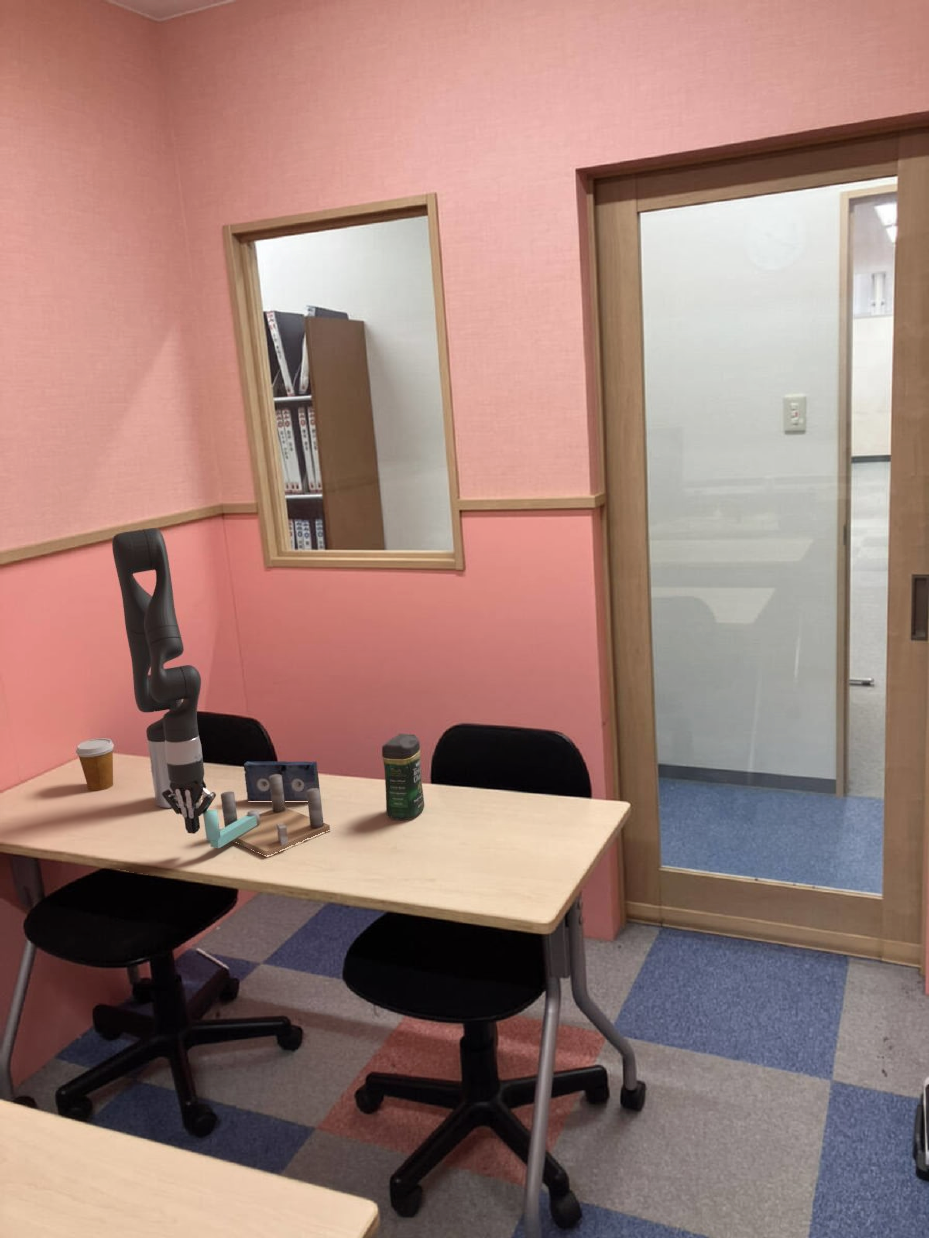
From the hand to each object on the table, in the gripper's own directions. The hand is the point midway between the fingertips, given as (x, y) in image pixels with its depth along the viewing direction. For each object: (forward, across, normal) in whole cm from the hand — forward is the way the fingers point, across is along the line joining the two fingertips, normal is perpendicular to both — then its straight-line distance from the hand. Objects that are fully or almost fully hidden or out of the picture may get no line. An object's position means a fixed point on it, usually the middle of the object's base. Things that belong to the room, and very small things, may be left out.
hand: (193, 831), depth 220 cm
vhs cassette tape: (+5, +4, +31) cm, 32 cm away
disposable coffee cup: (+6, -52, +30) cm, 60 cm away
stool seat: (+5, +12, +13) cm, 19 cm away
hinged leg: (+3, +6, +7) cm, 10 cm away
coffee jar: (+5, +37, +30) cm, 48 cm away
